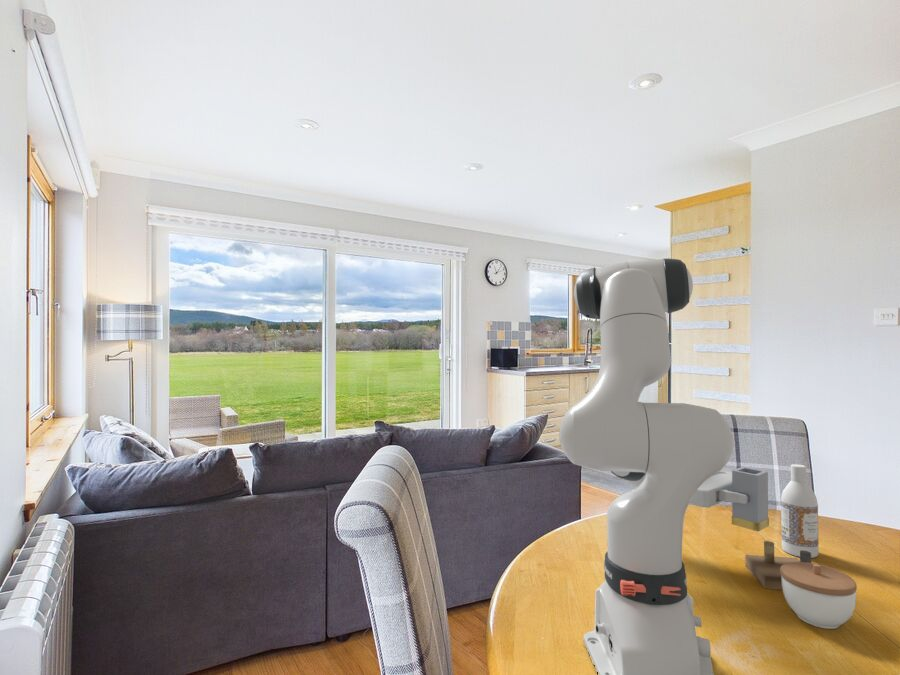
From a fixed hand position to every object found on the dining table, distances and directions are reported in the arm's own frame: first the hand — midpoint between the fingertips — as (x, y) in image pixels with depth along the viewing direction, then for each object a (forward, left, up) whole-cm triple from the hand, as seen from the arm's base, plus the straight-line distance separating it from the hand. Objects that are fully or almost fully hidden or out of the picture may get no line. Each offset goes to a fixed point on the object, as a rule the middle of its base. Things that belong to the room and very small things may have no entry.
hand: (755, 496), depth 100 cm
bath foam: (+18, -16, -17) cm, 29 cm away
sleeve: (+1, +1, -6) cm, 6 cm away
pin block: (+3, -6, -17) cm, 18 cm away
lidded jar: (-13, -5, -17) cm, 22 cm away
